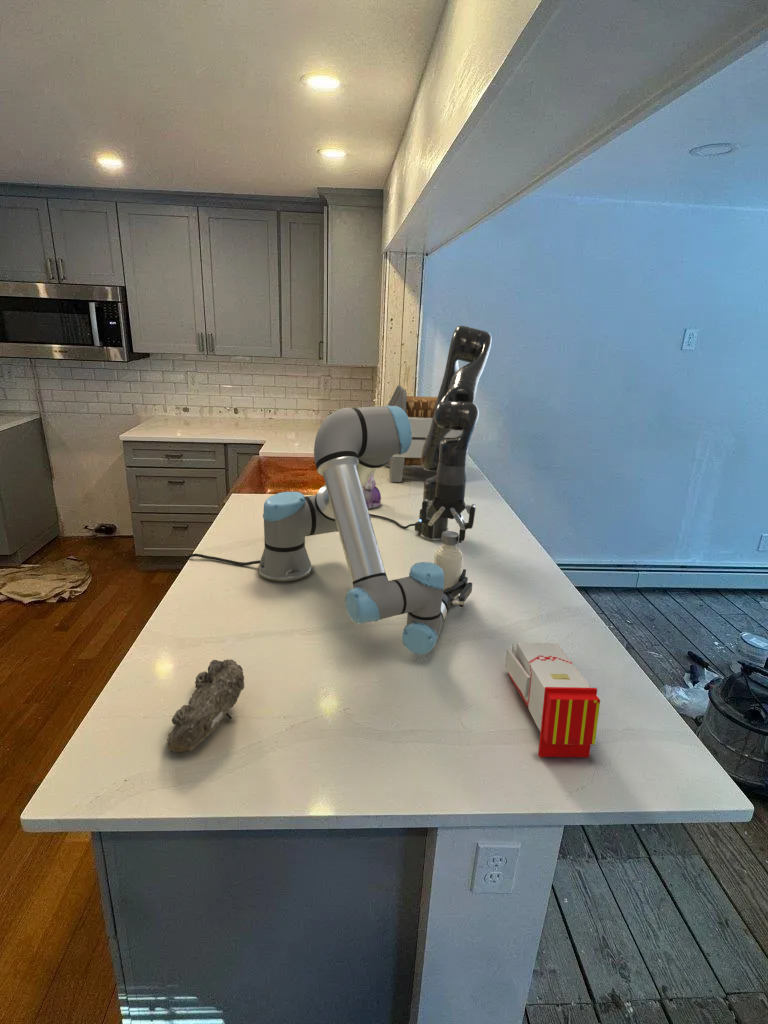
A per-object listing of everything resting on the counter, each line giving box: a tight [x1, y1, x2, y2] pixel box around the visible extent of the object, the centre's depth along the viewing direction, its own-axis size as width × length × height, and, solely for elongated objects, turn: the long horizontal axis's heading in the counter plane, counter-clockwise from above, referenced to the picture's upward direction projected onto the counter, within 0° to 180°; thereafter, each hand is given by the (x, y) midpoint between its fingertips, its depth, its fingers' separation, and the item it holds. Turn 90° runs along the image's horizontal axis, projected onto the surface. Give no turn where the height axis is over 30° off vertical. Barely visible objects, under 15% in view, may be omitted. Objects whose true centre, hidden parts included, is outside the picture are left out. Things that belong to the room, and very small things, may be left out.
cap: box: [441, 530, 459, 546], centre depth 150 cm, size 4×4×2 cm
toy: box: [504, 642, 601, 758], centre depth 113 cm, size 12×13×30 cm
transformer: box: [384, 384, 462, 483], centre depth 268 cm, size 34×33×41 cm
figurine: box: [362, 470, 382, 510], centre depth 224 cm, size 9×10×15 cm
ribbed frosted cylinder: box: [433, 543, 464, 607], centre depth 153 cm, size 8×8×19 cm
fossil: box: [166, 658, 245, 754], centre depth 106 cm, size 22×10×15 cm
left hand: (449, 571), depth 158 cm, fingers closed on ribbed frosted cylinder, 7 cm apart
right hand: (445, 539), depth 150 cm, fingers open, 7 cm apart
